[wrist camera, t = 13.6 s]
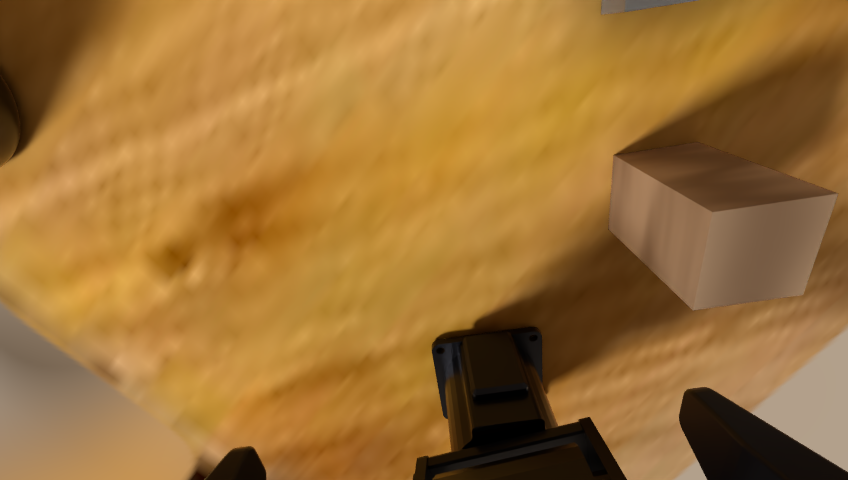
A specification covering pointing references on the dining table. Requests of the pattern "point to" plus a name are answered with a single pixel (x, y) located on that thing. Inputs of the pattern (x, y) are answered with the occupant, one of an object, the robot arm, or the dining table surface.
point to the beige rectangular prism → (718, 223)
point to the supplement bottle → (8, 123)
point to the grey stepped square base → (634, 5)
